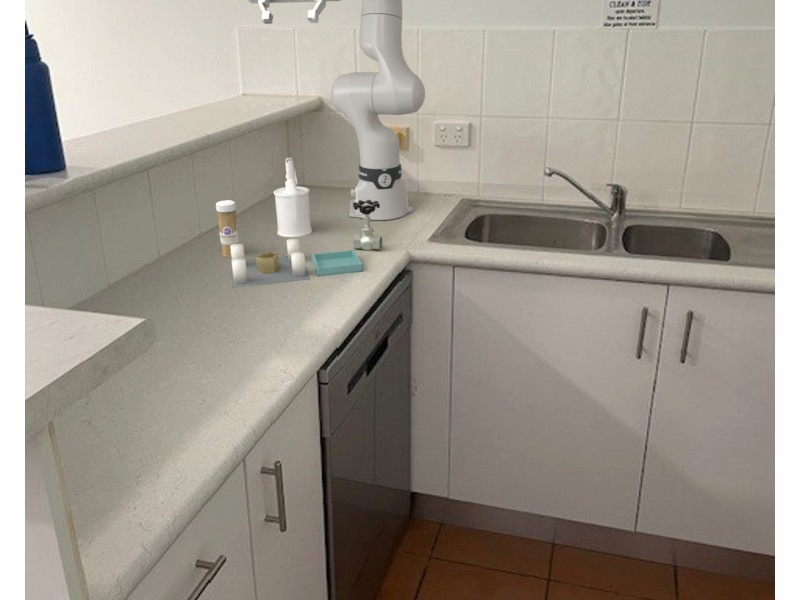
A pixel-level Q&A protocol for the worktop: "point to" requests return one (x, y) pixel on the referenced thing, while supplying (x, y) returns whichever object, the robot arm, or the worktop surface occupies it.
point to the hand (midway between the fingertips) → (289, 22)
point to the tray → (336, 263)
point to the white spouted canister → (292, 206)
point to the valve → (367, 227)
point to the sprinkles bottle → (227, 225)
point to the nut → (267, 262)
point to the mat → (259, 279)
